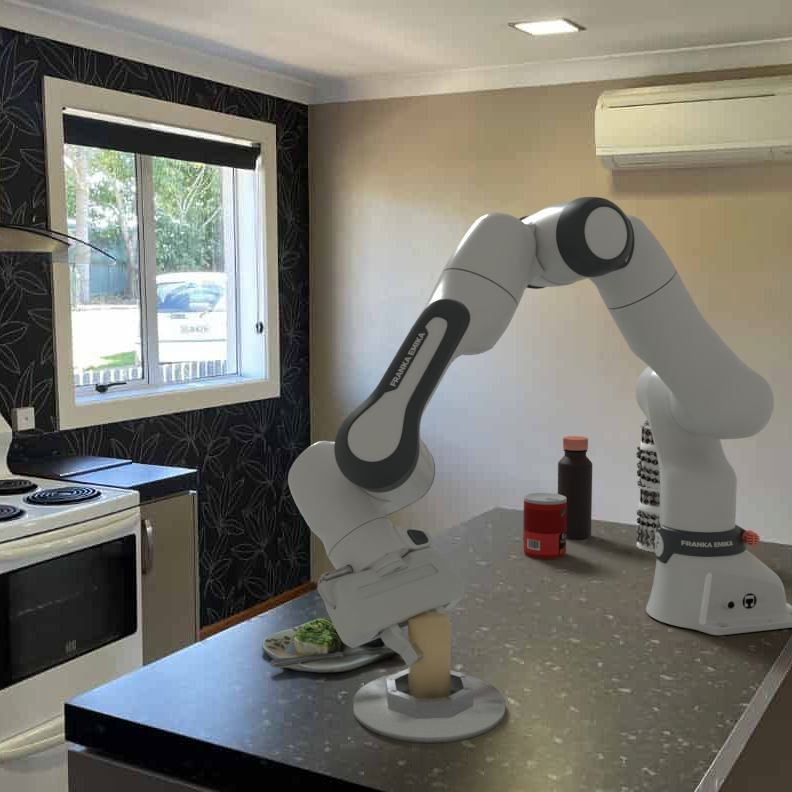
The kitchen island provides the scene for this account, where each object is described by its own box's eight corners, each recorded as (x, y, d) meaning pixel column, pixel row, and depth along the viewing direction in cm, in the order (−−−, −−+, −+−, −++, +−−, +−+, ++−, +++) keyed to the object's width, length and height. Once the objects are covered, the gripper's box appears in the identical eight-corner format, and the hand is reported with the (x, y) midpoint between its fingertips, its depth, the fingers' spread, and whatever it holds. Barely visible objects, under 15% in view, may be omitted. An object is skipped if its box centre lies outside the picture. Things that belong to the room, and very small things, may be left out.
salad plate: (309, 696, 121) (309, 660, 121) (229, 656, 134) (228, 624, 134) (421, 655, 134) (421, 623, 134) (337, 623, 147) (337, 593, 147)
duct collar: (490, 676, 126) (491, 653, 126) (518, 739, 108) (518, 713, 108) (351, 680, 125) (351, 657, 125) (356, 745, 107) (355, 719, 107)
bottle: (556, 539, 195) (558, 440, 193) (557, 531, 202) (558, 435, 199) (591, 540, 194) (593, 440, 192) (590, 532, 200) (592, 435, 198)
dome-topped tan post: (447, 683, 119) (447, 611, 118) (452, 700, 114) (453, 625, 113) (406, 684, 119) (406, 612, 118) (410, 701, 114) (410, 626, 113)
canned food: (569, 559, 180) (570, 501, 179) (525, 559, 180) (526, 501, 179) (562, 548, 188) (563, 492, 187) (520, 548, 188) (521, 492, 187)
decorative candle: (624, 546, 189) (627, 418, 186) (651, 538, 195) (654, 414, 192) (666, 556, 182) (669, 423, 180) (692, 547, 189) (696, 418, 186)
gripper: (324, 561, 111) (389, 666, 106) (436, 528, 127) (498, 617, 121) (298, 592, 115) (359, 694, 109) (410, 555, 130) (469, 643, 125)
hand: (433, 653), depth 115 cm, fingers closed on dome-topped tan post, 5 cm apart
